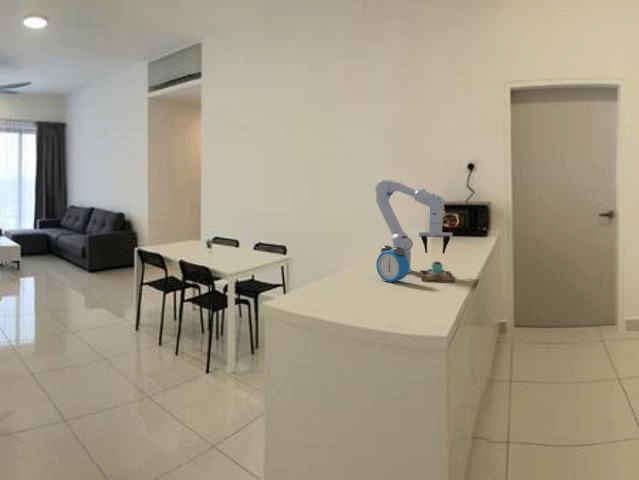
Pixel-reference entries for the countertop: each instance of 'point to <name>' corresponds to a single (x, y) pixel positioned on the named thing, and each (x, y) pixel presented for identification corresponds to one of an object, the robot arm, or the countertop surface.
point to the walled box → (436, 276)
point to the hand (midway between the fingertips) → (434, 252)
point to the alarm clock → (392, 264)
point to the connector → (436, 267)
